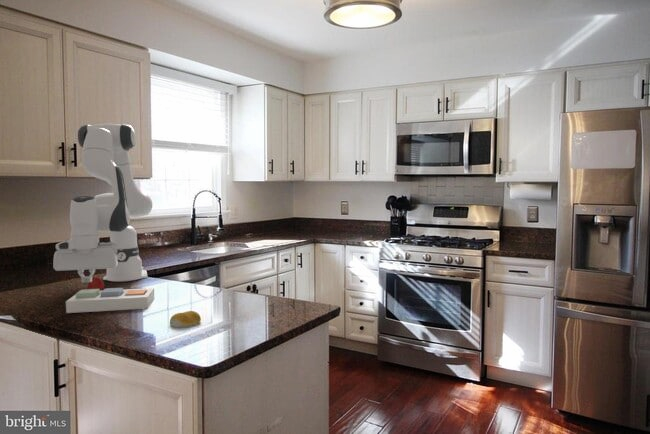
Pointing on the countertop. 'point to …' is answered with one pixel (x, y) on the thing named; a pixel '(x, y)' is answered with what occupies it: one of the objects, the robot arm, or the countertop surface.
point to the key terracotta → (136, 292)
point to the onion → (96, 283)
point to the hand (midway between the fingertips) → (87, 282)
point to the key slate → (112, 292)
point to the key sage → (88, 293)
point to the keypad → (110, 302)
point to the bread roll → (185, 319)
